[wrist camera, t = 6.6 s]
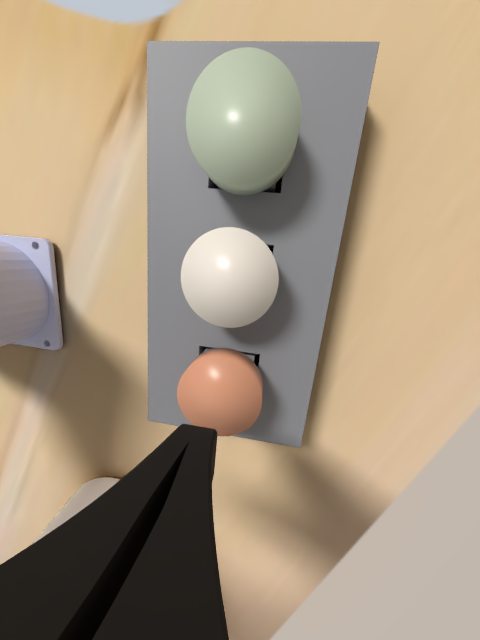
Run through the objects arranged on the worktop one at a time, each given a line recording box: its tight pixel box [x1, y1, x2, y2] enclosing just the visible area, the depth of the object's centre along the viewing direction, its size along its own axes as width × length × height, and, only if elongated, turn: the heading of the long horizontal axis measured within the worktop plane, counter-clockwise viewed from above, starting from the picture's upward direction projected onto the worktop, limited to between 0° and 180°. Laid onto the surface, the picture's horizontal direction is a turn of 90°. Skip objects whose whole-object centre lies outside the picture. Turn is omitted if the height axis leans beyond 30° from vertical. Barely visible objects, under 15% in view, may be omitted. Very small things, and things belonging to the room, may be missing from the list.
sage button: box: [186, 47, 301, 195], centre depth 11 cm, size 4×4×4 cm
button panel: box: [147, 41, 379, 448], centre depth 14 cm, size 20×10×2 cm, turn 174°
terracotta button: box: [177, 347, 263, 436], centre depth 14 cm, size 4×4×4 cm
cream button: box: [181, 227, 279, 328], centre depth 12 cm, size 4×4×4 cm
